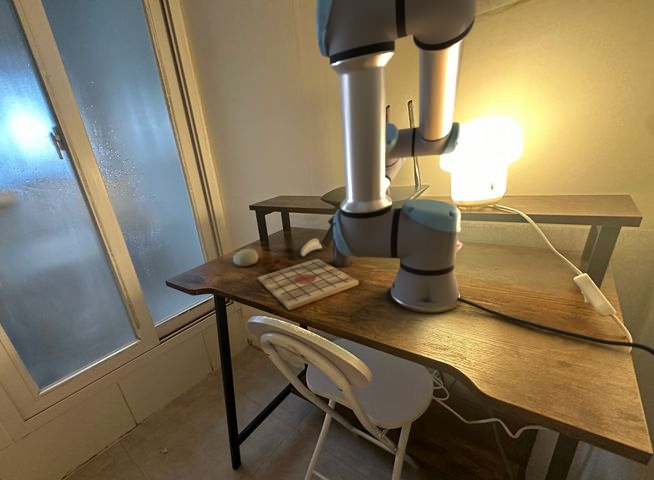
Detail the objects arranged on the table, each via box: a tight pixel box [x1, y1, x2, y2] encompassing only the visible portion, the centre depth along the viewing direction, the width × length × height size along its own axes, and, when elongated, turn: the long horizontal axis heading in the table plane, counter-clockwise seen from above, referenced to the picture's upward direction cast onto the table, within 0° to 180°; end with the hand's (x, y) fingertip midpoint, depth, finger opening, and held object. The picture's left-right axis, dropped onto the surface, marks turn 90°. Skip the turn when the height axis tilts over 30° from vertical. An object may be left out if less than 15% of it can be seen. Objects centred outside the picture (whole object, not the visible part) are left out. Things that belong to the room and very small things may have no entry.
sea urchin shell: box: [232, 248, 259, 268], centre depth 110 cm, size 9×8×8 cm
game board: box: [257, 258, 360, 311], centre depth 90 cm, size 22×22×1 cm
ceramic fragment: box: [299, 238, 323, 258], centre depth 112 cm, size 14×5×4 cm, turn 143°
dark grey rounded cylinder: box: [332, 236, 351, 268], centre depth 97 cm, size 5×5×11 cm
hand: (338, 249), depth 96 cm, fingers open, 13 cm apart
